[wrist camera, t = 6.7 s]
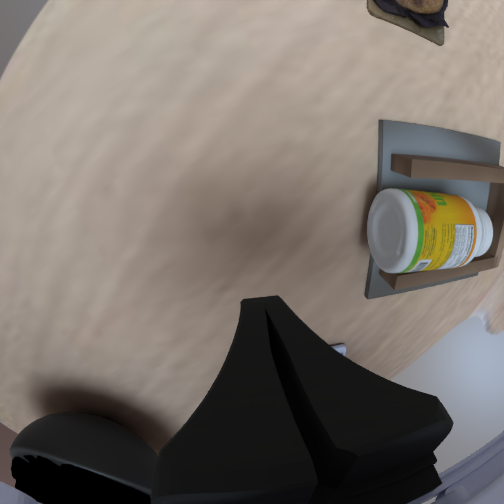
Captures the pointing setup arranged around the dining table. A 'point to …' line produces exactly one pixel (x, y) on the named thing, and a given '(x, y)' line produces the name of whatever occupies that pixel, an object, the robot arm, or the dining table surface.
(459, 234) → the supplement bottle
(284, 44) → the dining table surface
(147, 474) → the bowl of black rocks
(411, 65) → the dining table surface
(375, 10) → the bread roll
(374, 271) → the cradle
